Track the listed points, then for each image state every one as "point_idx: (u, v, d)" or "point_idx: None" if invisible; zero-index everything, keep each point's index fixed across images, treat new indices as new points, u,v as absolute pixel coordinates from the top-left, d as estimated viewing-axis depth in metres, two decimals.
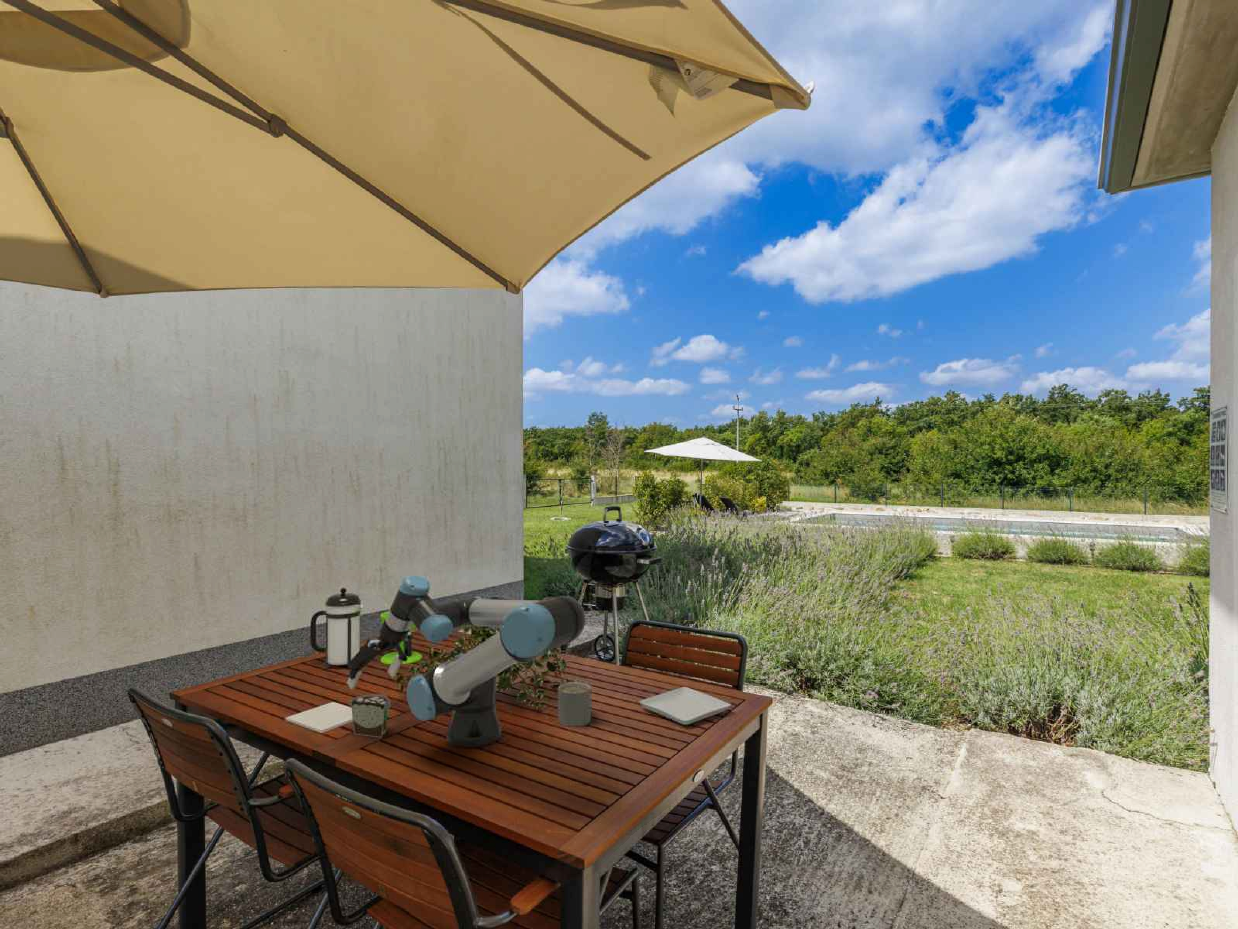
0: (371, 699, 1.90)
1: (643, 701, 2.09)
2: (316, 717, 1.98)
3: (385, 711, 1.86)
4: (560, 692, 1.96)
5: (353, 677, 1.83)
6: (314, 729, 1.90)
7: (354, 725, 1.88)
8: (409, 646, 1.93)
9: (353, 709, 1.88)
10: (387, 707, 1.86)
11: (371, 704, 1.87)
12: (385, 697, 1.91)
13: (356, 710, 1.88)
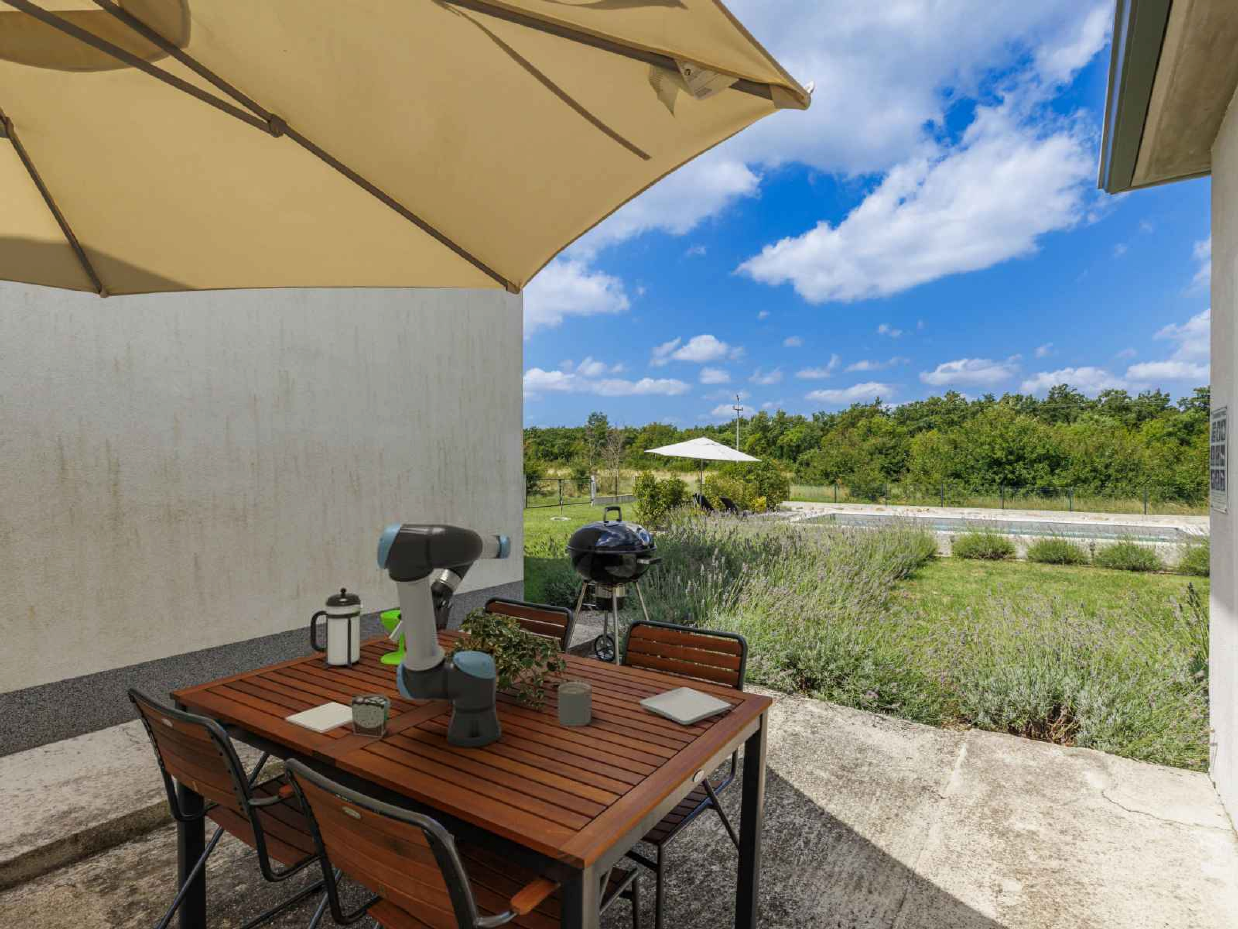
0: (371, 699, 1.90)
1: (643, 701, 2.09)
2: (316, 717, 1.98)
3: (385, 711, 1.86)
4: (560, 692, 1.96)
5: None
6: (314, 729, 1.90)
7: (354, 725, 1.88)
8: (443, 611, 2.02)
9: (353, 709, 1.88)
10: (387, 707, 1.86)
11: (371, 704, 1.87)
12: (385, 697, 1.91)
13: (356, 710, 1.88)
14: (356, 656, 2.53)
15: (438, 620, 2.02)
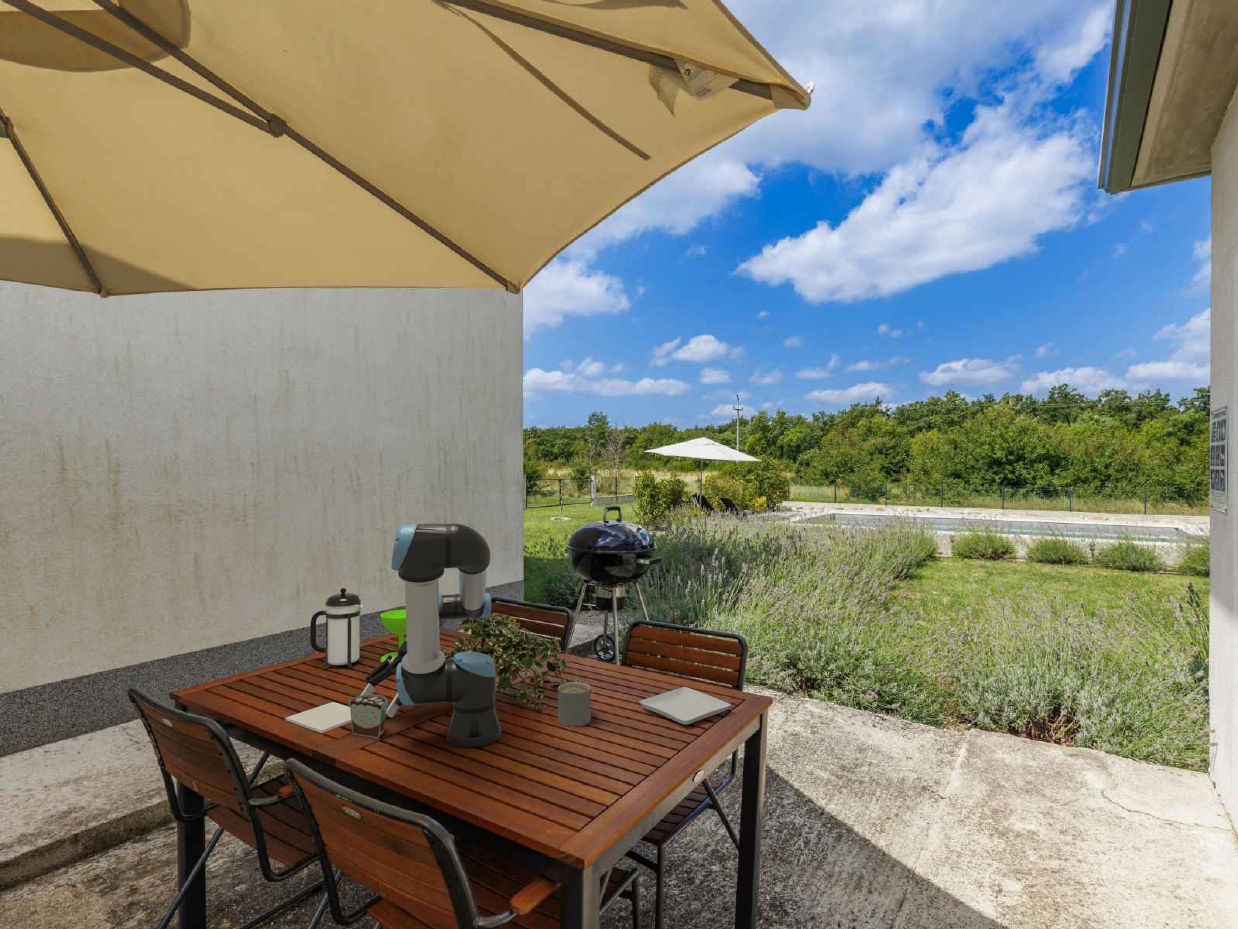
0: (370, 699, 1.90)
1: (643, 701, 2.09)
2: (316, 717, 1.98)
3: (382, 712, 1.85)
4: (560, 692, 1.96)
5: None
6: (314, 729, 1.90)
7: (352, 725, 1.88)
8: None
9: (352, 709, 1.88)
10: (384, 708, 1.85)
11: (369, 704, 1.86)
12: (383, 697, 1.90)
13: (354, 710, 1.88)
14: (356, 656, 2.53)
15: None
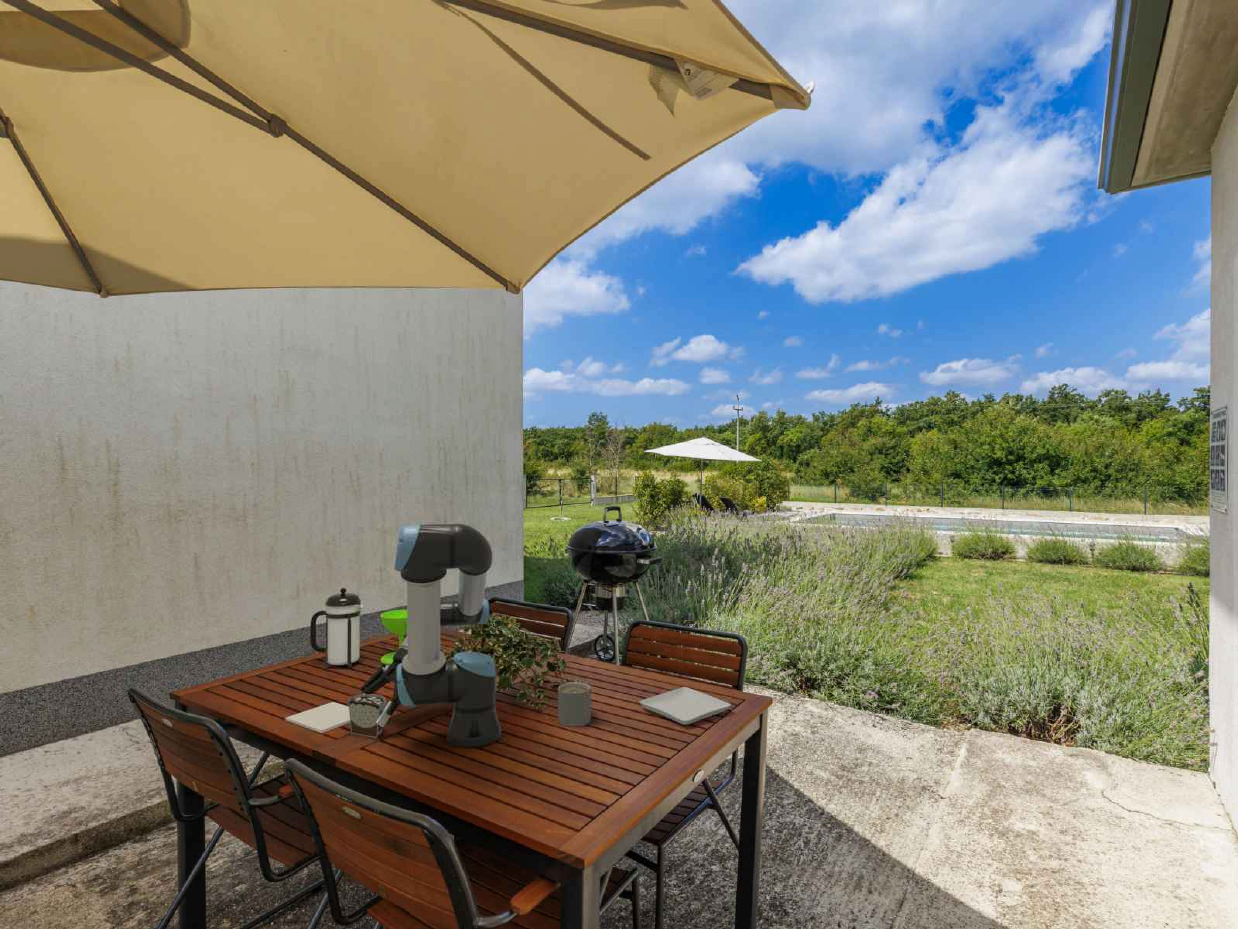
0: (368, 699, 1.90)
1: (643, 701, 2.09)
2: (316, 717, 1.98)
3: (380, 711, 1.85)
4: (560, 692, 1.96)
5: None
6: (314, 729, 1.90)
7: (351, 724, 1.88)
8: None
9: (350, 708, 1.89)
10: (382, 707, 1.85)
11: (367, 704, 1.86)
12: (382, 697, 1.90)
13: (353, 709, 1.88)
14: (356, 656, 2.53)
15: None
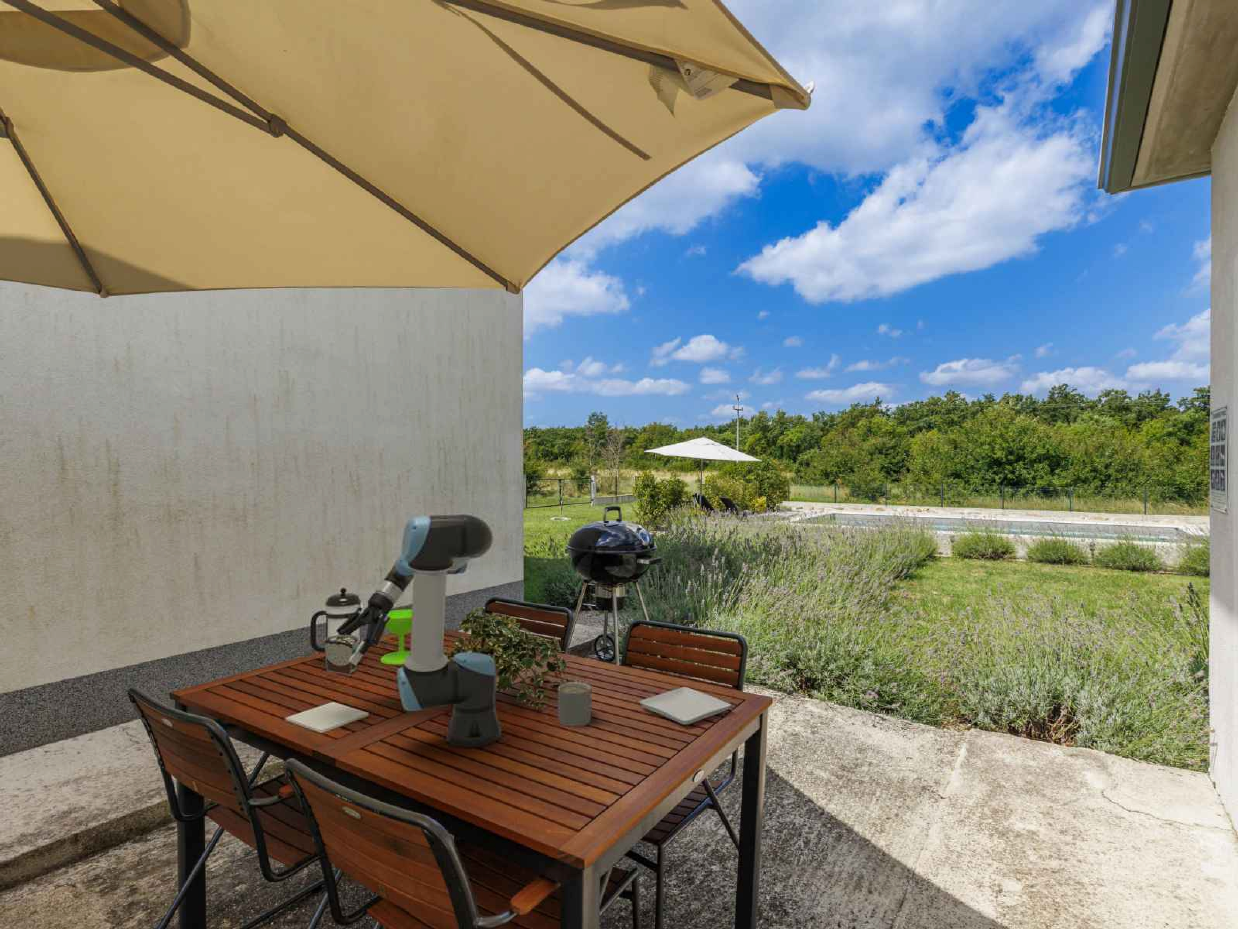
0: (343, 639, 1.99)
1: (643, 701, 2.09)
2: (316, 717, 1.98)
3: (353, 650, 1.94)
4: (560, 692, 1.96)
5: None
6: (314, 729, 1.90)
7: (327, 663, 1.98)
8: (377, 626, 1.99)
9: (326, 647, 1.98)
10: (355, 647, 1.94)
11: (341, 643, 1.96)
12: (356, 638, 1.99)
13: (329, 648, 1.97)
14: None
15: (371, 635, 1.98)
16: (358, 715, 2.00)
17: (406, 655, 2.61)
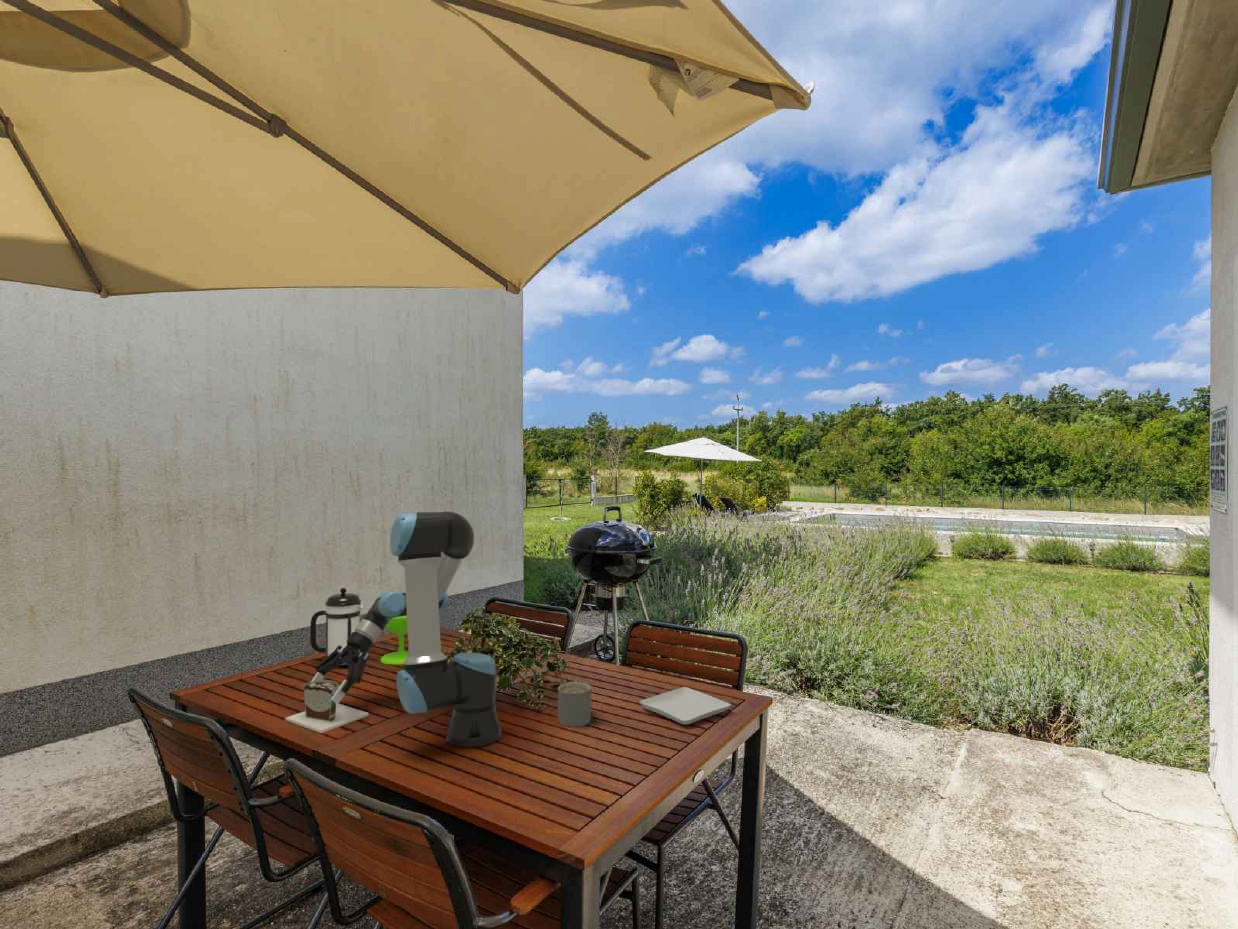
0: (323, 685, 2.00)
1: (643, 701, 2.09)
2: None
3: None
4: (560, 692, 1.96)
5: None
6: (314, 729, 1.90)
7: (306, 709, 1.98)
8: (358, 664, 2.01)
9: (305, 693, 1.99)
10: (334, 692, 1.95)
11: (320, 689, 1.96)
12: (336, 683, 2.00)
13: (308, 694, 1.98)
14: None
15: (353, 673, 2.00)
16: (358, 715, 2.00)
17: (406, 655, 2.61)
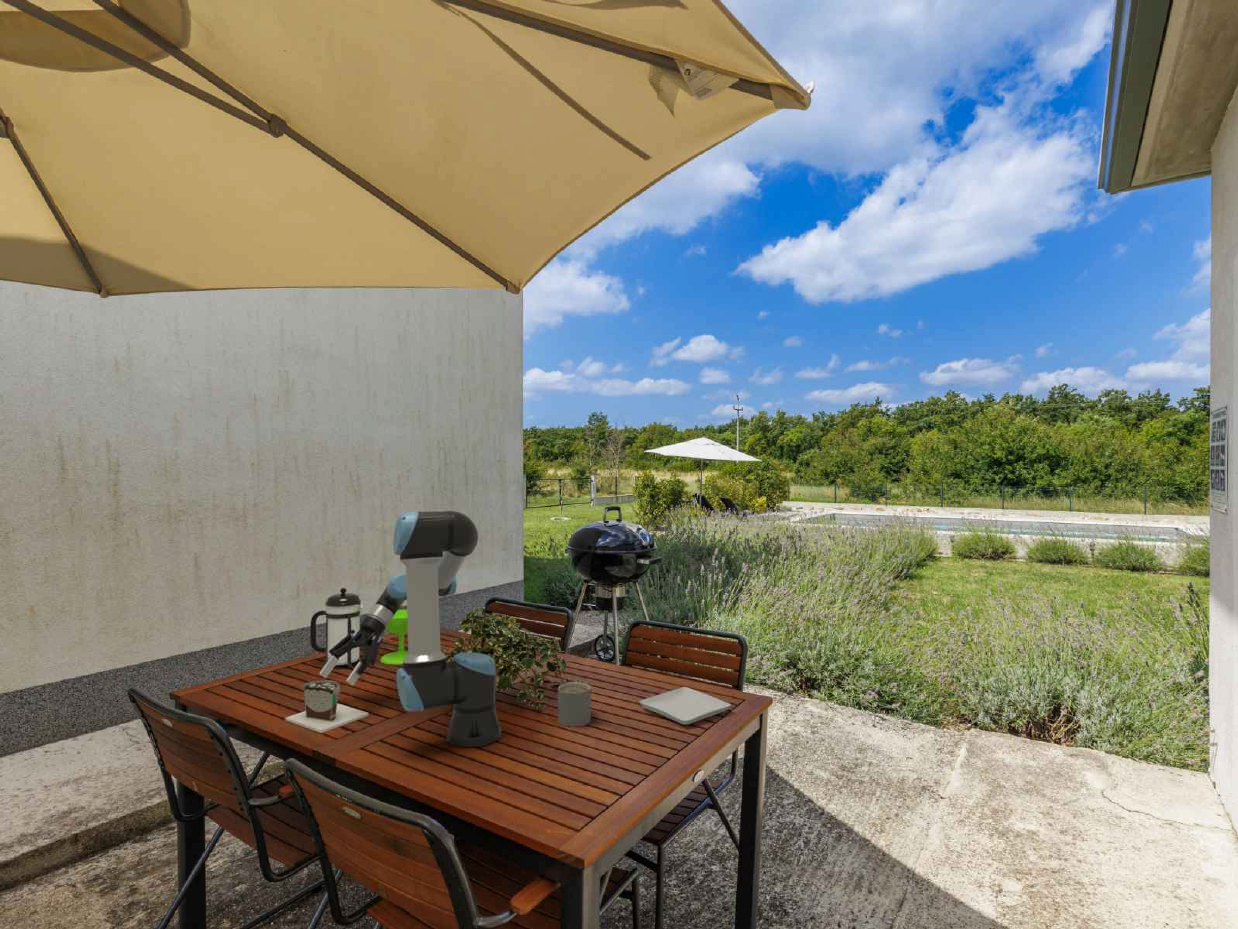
0: (323, 685, 2.00)
1: (643, 701, 2.09)
2: None
3: (334, 696, 1.96)
4: (560, 692, 1.96)
5: None
6: (314, 729, 1.90)
7: (306, 709, 1.98)
8: (372, 647, 2.06)
9: (305, 694, 1.98)
10: (336, 692, 1.95)
11: (321, 689, 1.96)
12: (336, 683, 2.01)
13: (308, 695, 1.98)
14: (356, 656, 2.53)
15: (367, 655, 2.05)
16: (358, 715, 2.00)
17: (406, 655, 2.61)
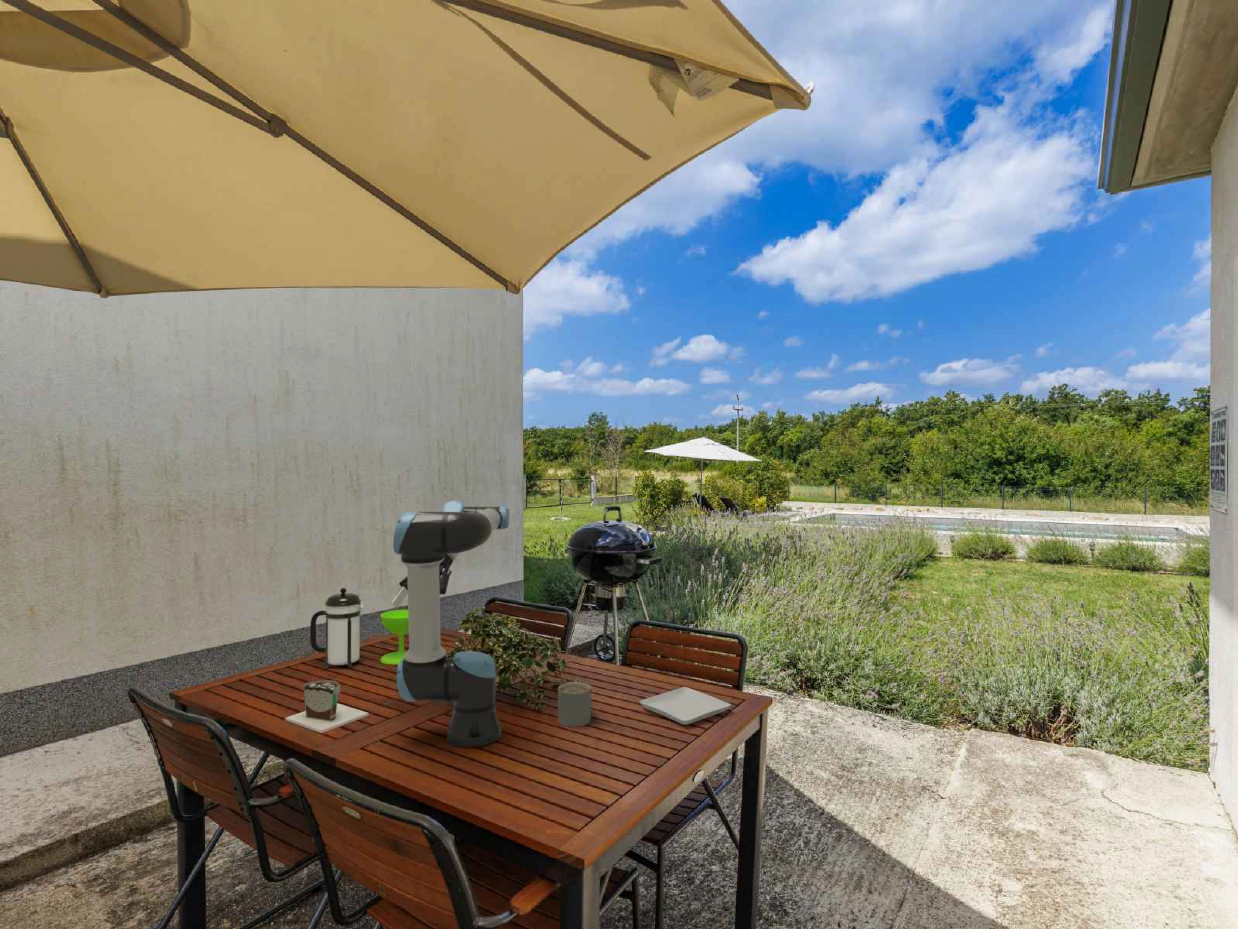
0: (323, 685, 2.00)
1: (643, 701, 2.09)
2: None
3: (334, 696, 1.96)
4: (560, 692, 1.96)
5: None
6: (314, 729, 1.90)
7: (306, 709, 1.98)
8: (442, 577, 2.12)
9: (305, 694, 1.98)
10: (336, 692, 1.95)
11: (321, 689, 1.96)
12: (336, 683, 2.01)
13: (308, 695, 1.98)
14: (356, 656, 2.53)
15: None
16: (358, 715, 2.00)
17: None
